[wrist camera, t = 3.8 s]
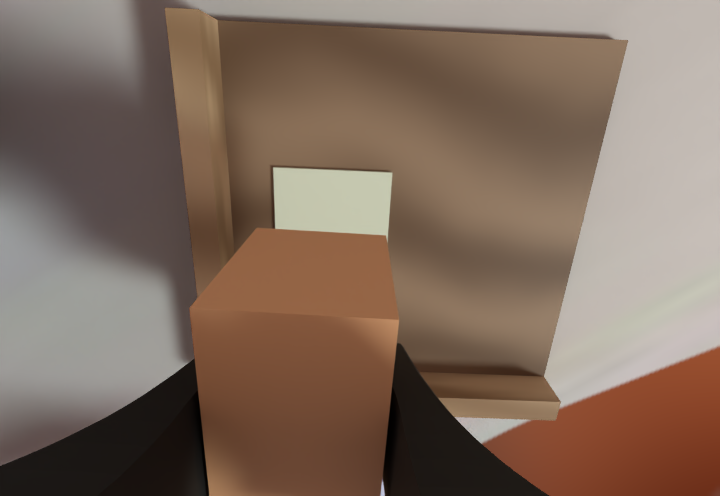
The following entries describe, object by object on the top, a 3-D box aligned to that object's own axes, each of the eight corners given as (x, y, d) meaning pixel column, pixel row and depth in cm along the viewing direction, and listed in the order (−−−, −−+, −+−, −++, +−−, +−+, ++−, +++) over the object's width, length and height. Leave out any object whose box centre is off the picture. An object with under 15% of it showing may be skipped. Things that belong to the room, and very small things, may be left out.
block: (256, 227, 12) (189, 308, 7) (386, 235, 12) (399, 320, 8) (264, 428, 15) (218, 577, 10) (369, 433, 15) (371, 585, 10)
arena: (535, 386, 23) (555, 420, 21) (225, 375, 23) (209, 408, 20) (619, 42, 17) (663, 32, 14) (193, 21, 16) (164, 7, 14)
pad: (379, 346, 21) (379, 348, 21) (279, 342, 21) (279, 344, 21) (392, 171, 18) (392, 172, 18) (274, 166, 18) (273, 167, 18)
